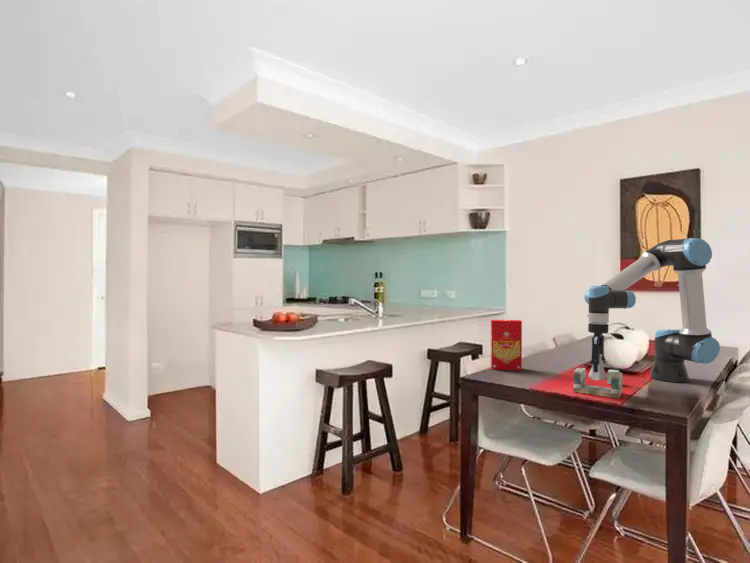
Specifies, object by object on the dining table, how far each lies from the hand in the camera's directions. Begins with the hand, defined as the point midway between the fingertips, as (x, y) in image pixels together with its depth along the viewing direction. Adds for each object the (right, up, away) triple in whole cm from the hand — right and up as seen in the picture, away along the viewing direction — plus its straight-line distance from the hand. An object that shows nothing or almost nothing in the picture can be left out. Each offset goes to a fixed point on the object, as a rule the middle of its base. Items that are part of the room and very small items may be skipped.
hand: (597, 377), depth 188 cm
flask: (0, 0, 0) cm, 0 cm away
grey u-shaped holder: (0, -6, 0) cm, 6 cm away
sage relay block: (+14, -6, +14) cm, 20 cm away
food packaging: (-25, -5, +46) cm, 52 cm away
